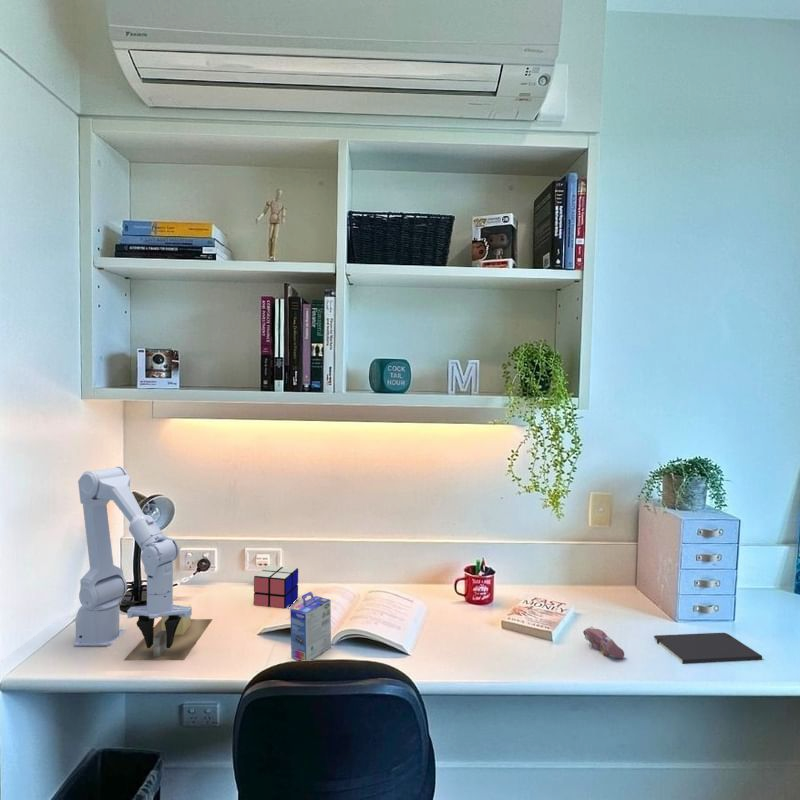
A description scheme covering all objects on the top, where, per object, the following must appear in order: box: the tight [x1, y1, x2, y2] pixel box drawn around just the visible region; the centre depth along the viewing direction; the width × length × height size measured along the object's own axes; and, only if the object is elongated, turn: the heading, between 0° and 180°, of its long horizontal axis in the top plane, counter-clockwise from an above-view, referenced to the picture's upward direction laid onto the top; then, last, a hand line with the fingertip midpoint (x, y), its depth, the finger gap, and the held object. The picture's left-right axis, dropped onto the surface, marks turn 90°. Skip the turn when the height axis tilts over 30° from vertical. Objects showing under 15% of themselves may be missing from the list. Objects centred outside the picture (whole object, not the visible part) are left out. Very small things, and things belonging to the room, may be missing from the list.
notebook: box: [653, 632, 763, 665], centre depth 141 cm, size 13×2×21 cm
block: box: [161, 604, 192, 635], centre depth 144 cm, size 6×6×6 cm
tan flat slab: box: [123, 618, 213, 661], centre depth 139 cm, size 14×22×6 cm, turn 2°
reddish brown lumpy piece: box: [582, 626, 625, 660], centre depth 138 cm, size 10×5×7 cm, turn 21°
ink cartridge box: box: [289, 591, 332, 661], centre depth 135 cm, size 10×6×14 cm, turn 149°
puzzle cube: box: [253, 565, 299, 610], centre depth 164 cm, size 10×10×10 cm
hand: (159, 646), depth 132 cm, fingers open, 4 cm apart
